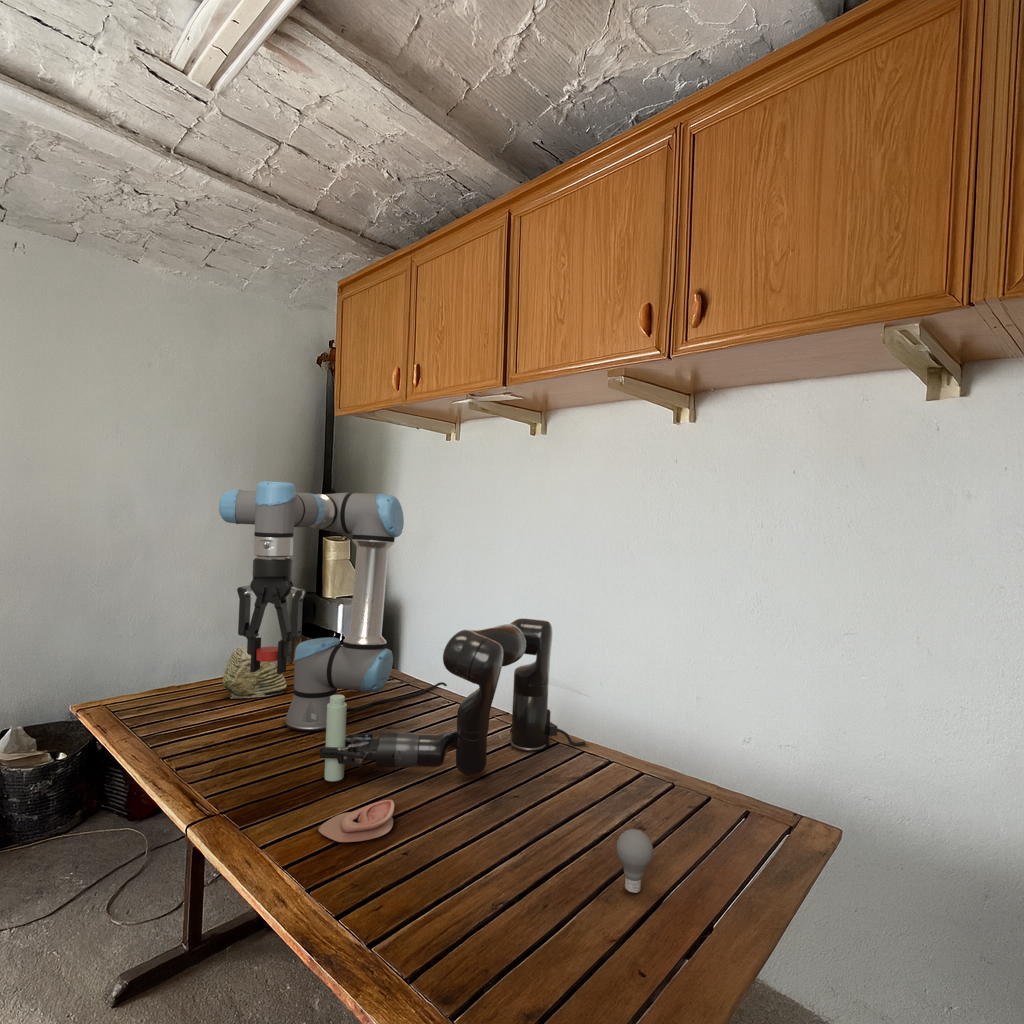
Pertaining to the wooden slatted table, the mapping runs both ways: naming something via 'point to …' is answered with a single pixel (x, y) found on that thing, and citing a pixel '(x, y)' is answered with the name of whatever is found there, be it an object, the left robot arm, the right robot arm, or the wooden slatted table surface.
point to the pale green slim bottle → (335, 735)
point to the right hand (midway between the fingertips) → (323, 748)
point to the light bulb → (634, 857)
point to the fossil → (251, 677)
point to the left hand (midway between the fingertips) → (268, 671)
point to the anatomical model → (360, 823)
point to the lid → (267, 654)
